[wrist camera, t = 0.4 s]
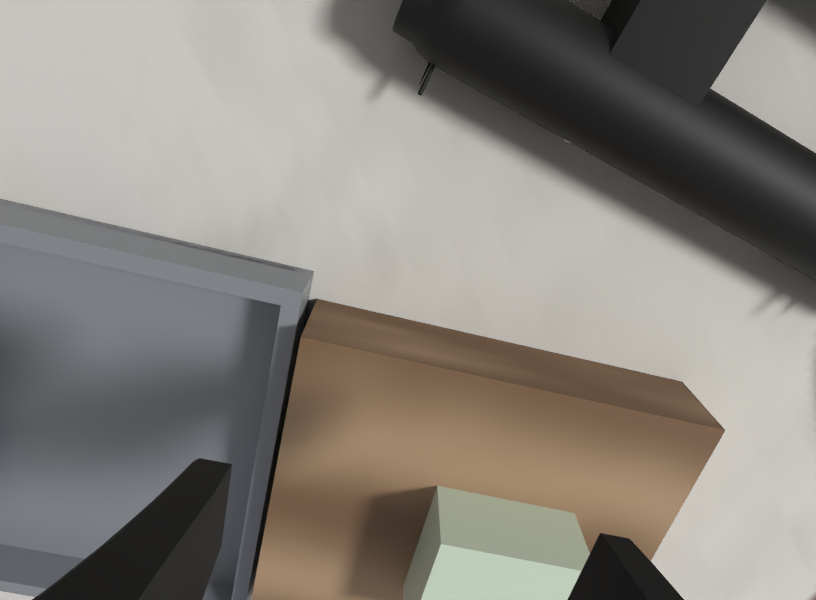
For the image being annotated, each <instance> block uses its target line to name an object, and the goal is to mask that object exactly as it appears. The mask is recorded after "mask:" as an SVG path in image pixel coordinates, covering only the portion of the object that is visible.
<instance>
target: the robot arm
mask: <svg viewBox="0 0 816 600" xmlns="http://www.w3.org/2000/svg"><path fill="white" fill-rule="evenodd" d="M231 470H232V464H229V463H223V462H218V461H213V460H207V459H202V458H198V459H197V460H195V461H193V462H192V463H191V464H190V465H189V466H188V467H187V468H186V469H185V470H184V471H183V472H182V473H181V474H180V475H179V476H178V477H177V478H176V479H175V480H174V481H173V482H172V483H171V484H170V485H169V486H168V487H167V488H166V489H165V490H164V491H162V492H161V493H160V494H159V495H158V496H157V497H156V498H155V499H154V500H153V501H152V502H151V503H150V504H148V505H147V506H146V507H145V508H144V509H143V510H142V511H141V512H140V513H139V514H137V515H136V516H135V517H134V518H133V519H132V520H130V521H129V522H128V523H127V524H126V525H125V526H124V527H122V528H121V529H120V530H119V531H118V532H117V533H116V534H114V535H113V536H112V537H111V538H110V539H109V540H107V541H106V542H105V543H104V544H103V545H101V546H100V547H99V548H98V549H97V550H95V551H94V552H93V553H92V554H90V555H89V556H88V557H87V558H85V559H84V560H83V561H82V562H80V563H79V564H78V565H76V566H75V567H74V568H73V569H71V570H70V571H69V572H68V573H66V574H65V575H64V576H63V577H61V578H60V579H59V580H58V581H56V582H55V583H54V584H53V585H51V586H50V587H49V588H47V589H46V590H45V591H43V592H42V593H41V594H39V595H38V596H37V597H35V598H34V599H32V600H202V599H203V596H204V593H205V591H206V588H207V585H208V582H209V580H210V577H211V574H212V571H213V568H214V565H215V562H216V560H217V557H218V554H219V551H220V548H221V545H222V538H223V530H224V523H225V515H226V507H227V500H228V492H229V485H230V477H231ZM568 600H684V599H683V598H682V597H681V596H680V595H679V593H678V592H677V591H676V590H675V589H674V588H673V587H672V585H671V584H670V583H669V582H668V581H667V580H666V578H665V577H664V576H663V575H662V574H661V573H660V572H659V570H658V569H657V568H656V567H655V566H654V565H653V564H652V562H651V561H650V560H649V559H648V558H647V557H646V556H645V555H644V553H643V552H642V551H641V550H640V549H639V548H638V547H637V546H636V545H635V544H634V543H633V542H632V541H631V540H630V539H629V538H624V537H619V536H614V535H608V534H603V533H600V534H599V536H598V538H597V540H596V542H595V544H594V546H593V548H592V550H591V553H590V555H589V557H588V559H587V561H586V563H585V565H584V567H583V569H582V571H581V573H580V575H579V577H578V579H577V581H576V583H575V585H574V587H573V589H572V591H571V594H570V596H569V598H568Z"/></svg>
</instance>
